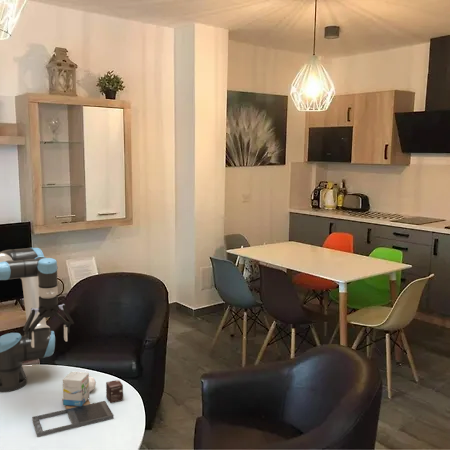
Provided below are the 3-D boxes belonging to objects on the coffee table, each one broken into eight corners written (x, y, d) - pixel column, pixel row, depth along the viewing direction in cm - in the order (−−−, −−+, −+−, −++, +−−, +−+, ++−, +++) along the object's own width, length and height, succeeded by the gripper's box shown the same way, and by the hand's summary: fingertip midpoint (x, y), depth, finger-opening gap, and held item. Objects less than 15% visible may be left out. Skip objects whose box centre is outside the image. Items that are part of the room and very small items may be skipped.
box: (109, 403, 221) (109, 387, 219) (106, 397, 226) (105, 382, 225) (123, 400, 224) (123, 385, 222) (119, 394, 229) (119, 379, 228)
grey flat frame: (37, 436, 195) (37, 433, 194) (32, 420, 206) (32, 416, 206) (113, 418, 209) (113, 414, 209) (105, 403, 220) (105, 400, 220)
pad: (62, 400, 222) (62, 398, 222) (85, 395, 226) (85, 393, 226) (67, 411, 213) (67, 409, 213) (90, 406, 218) (90, 404, 218)
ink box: (81, 406, 214) (80, 380, 213) (62, 405, 216) (61, 379, 214) (89, 397, 223) (89, 372, 221) (71, 396, 224) (71, 371, 223)
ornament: (97, 393, 229) (88, 383, 224) (83, 396, 231) (74, 387, 226) (100, 379, 234) (91, 370, 230) (86, 383, 236) (77, 374, 231)
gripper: (18, 302, 200) (19, 352, 204) (80, 294, 213) (81, 341, 217) (14, 297, 206) (16, 345, 210) (75, 289, 219) (76, 334, 223)
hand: (49, 343), depth 214 cm, fingers open, 13 cm apart
